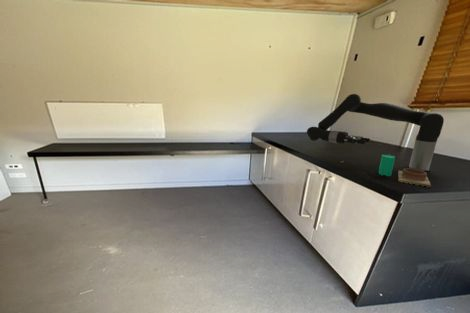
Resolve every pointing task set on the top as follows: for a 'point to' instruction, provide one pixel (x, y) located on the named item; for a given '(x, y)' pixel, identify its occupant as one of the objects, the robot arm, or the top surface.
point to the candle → (386, 165)
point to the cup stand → (414, 177)
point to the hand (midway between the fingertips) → (367, 141)
